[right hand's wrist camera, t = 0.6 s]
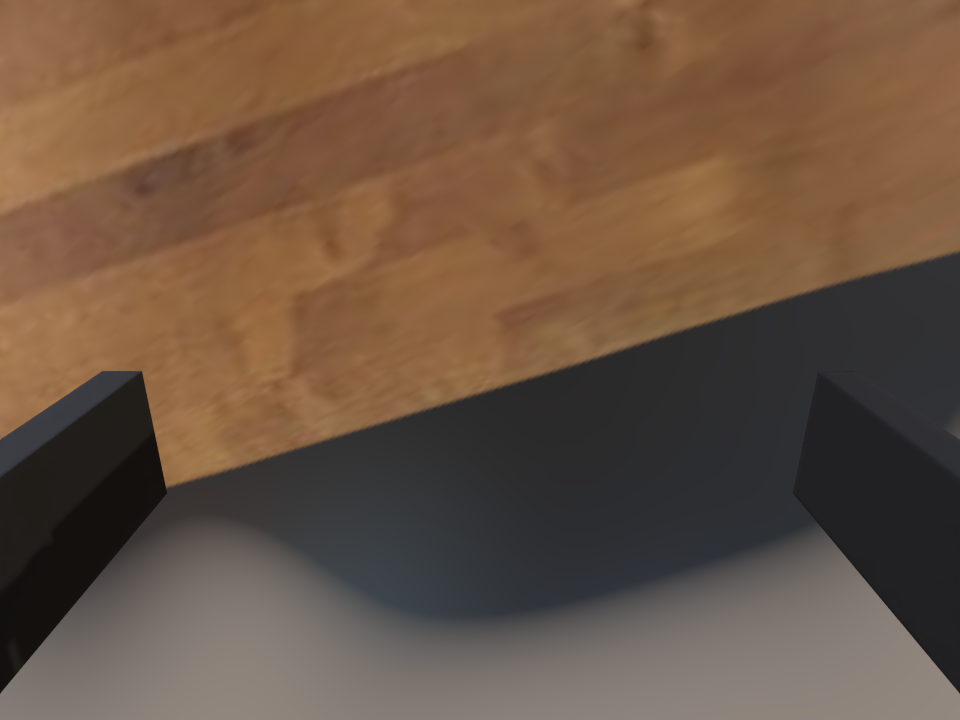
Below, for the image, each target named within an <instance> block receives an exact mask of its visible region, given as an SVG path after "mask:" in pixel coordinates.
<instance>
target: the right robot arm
mask: <svg viewBox="0 0 960 720" xmlns="http://www.w3.org/2000/svg"><path fill="white" fill-rule="evenodd" d="M166 494H167V491H166V486H165V481H164V476H163V471H162V467H161V462H160V457H159V452H158V447H157V442H156V437H155V433H154V428H153V423H152V418H151V413H150V408H149V404H148V399H147V394H146V389H145V384H144V379H143V374H142V371H102V372H101V373H99V374H98V375H96V376H95V377H93V378H92V379H90V380H89V381H87V382H86V383H84V384H83V385H81V386H80V387H78V388H77V389H75V390H74V391H72V392H71V393H69V394H68V395H66V396H65V397H63V398H62V399H60V400H59V401H57V402H56V403H54V404H53V405H51V406H50V407H48V408H47V409H45V410H44V411H43V412H41V413H40V414H38V415H37V416H35V417H34V418H32V419H31V420H29V421H28V422H26V423H25V424H23V425H22V426H20V427H19V428H17V429H16V430H14V431H13V432H11V433H10V434H8V435H7V436H5V437H4V438H2V439H1V440H0V693H1V692H2V691H3V689H4V688H5V687H6V686H7V685H8V683H9V682H10V681H11V680H12V679H13V677H14V676H15V675H16V674H17V673H18V671H19V670H20V669H21V668H22V667H23V665H24V664H25V663H26V662H27V661H28V659H29V658H30V657H31V656H32V655H33V653H34V652H35V651H36V650H37V649H38V647H39V646H40V645H41V644H42V643H43V641H44V640H45V639H46V638H47V637H48V635H49V634H50V633H51V632H52V631H53V629H54V628H55V627H56V626H57V625H58V623H59V622H60V621H61V620H62V619H63V617H64V616H65V615H66V614H67V613H68V611H69V610H70V609H71V608H72V607H73V605H74V604H75V603H76V602H77V601H78V599H79V598H80V597H81V596H82V595H83V593H84V592H85V591H86V590H87V589H88V587H89V586H90V585H91V584H92V583H93V581H94V580H95V579H96V578H97V577H98V575H99V574H100V573H101V572H102V571H103V569H104V568H105V567H106V566H107V565H108V563H109V562H110V561H111V560H112V559H113V557H114V556H115V555H116V554H117V553H118V551H119V550H120V549H121V548H122V547H123V545H124V544H125V543H126V542H127V541H128V539H129V538H130V537H131V536H132V535H133V533H134V532H135V531H136V530H137V529H138V527H139V526H140V525H141V524H142V523H143V521H144V520H145V519H146V518H147V517H148V515H149V514H150V513H151V512H152V511H153V509H154V508H155V507H156V506H157V505H158V503H159V502H160V501H161V500H162V499H163V497H164V496H165V495H166ZM793 494H794V495H795V496H796V497H797V499H798V500H799V501H800V502H801V503H802V505H803V506H804V507H805V508H806V509H807V511H808V512H809V513H810V514H811V515H812V517H813V518H814V519H815V520H816V521H817V523H818V524H819V525H820V526H821V527H822V529H823V530H824V531H825V532H826V533H827V535H828V536H829V537H830V538H831V539H832V541H833V542H834V543H835V544H836V545H837V547H838V548H839V549H840V550H841V551H842V553H843V554H844V555H845V556H846V557H847V559H848V560H849V561H850V562H851V563H852V565H853V566H854V567H855V568H856V569H857V571H858V572H859V573H860V574H861V575H862V577H863V578H864V579H865V580H866V581H867V583H868V584H869V585H870V586H871V587H872V589H873V590H874V591H875V592H876V593H877V595H878V596H879V597H880V598H881V599H882V601H883V602H884V603H885V604H886V605H887V607H888V608H889V609H890V610H891V611H892V613H893V614H894V615H895V616H896V617H897V619H898V620H899V621H900V622H901V623H902V624H903V626H904V627H905V628H906V629H907V631H908V632H909V633H910V634H911V635H912V637H913V638H914V639H915V640H916V641H917V643H918V644H919V645H920V646H921V647H922V649H923V650H924V651H925V652H926V653H927V655H928V656H929V657H930V658H931V659H932V661H933V662H934V663H935V664H936V665H937V667H938V668H939V669H940V670H941V671H942V673H943V674H944V675H945V676H946V677H947V679H948V680H949V681H950V682H951V683H952V685H953V686H954V687H955V688H956V689H957V691H958V692H959V693H960V440H959V439H958V438H956V437H955V436H953V435H952V434H950V433H949V432H947V431H946V430H944V429H943V428H941V427H940V426H938V425H937V424H935V423H934V422H932V421H931V420H929V419H928V418H926V417H925V416H923V415H922V414H920V413H919V412H917V411H916V410H914V409H913V408H912V407H910V406H909V405H907V404H906V403H904V402H903V401H901V400H900V399H898V398H897V397H895V396H894V395H892V394H891V393H889V392H888V391H886V390H885V389H883V388H882V387H880V386H879V385H877V384H876V383H874V382H873V381H871V380H870V379H868V378H867V377H865V376H864V375H862V374H861V373H859V372H858V371H818V374H817V379H816V385H815V389H814V394H813V399H812V404H811V408H810V413H809V418H808V423H807V428H806V433H805V438H804V442H803V447H802V452H801V457H800V462H799V467H798V472H797V476H796V481H795V486H794V491H793Z"/></svg>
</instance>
